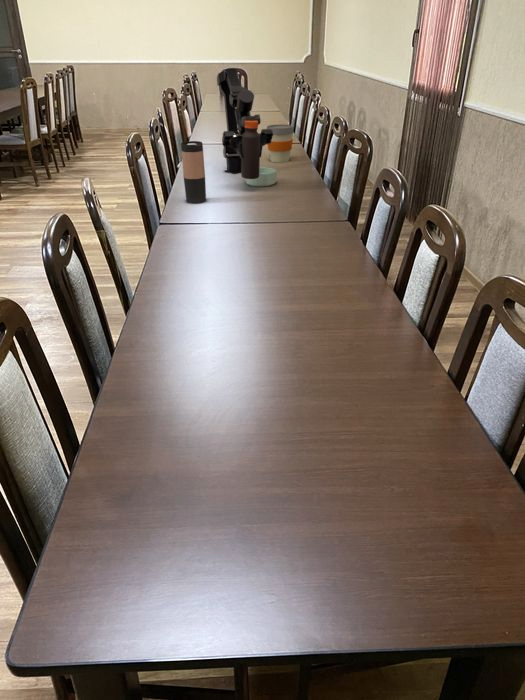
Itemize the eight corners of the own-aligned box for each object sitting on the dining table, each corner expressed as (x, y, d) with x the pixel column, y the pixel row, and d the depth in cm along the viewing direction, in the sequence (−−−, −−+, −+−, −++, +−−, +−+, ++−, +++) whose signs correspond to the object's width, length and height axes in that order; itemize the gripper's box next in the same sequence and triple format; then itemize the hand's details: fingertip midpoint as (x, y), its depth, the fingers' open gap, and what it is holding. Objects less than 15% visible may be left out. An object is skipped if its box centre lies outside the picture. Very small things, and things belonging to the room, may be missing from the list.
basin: (239, 184, 216) (239, 171, 214) (259, 178, 224) (259, 166, 221) (262, 188, 209) (262, 175, 207) (282, 182, 217) (282, 169, 214)
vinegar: (237, 176, 205) (238, 120, 195) (252, 173, 209) (253, 118, 198) (248, 180, 201) (249, 123, 190) (262, 177, 204) (264, 121, 194)
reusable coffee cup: (267, 157, 260) (267, 124, 253) (293, 157, 259) (294, 124, 252) (265, 163, 250) (264, 128, 242) (292, 163, 248) (292, 128, 241)
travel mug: (186, 198, 199) (181, 141, 188) (206, 197, 199) (202, 140, 189) (185, 204, 192) (179, 145, 182) (206, 203, 193) (202, 144, 182)
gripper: (221, 107, 194) (228, 145, 190) (271, 105, 197) (279, 142, 194) (219, 127, 204) (225, 163, 201) (266, 125, 208) (274, 160, 205)
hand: (251, 157), depth 200 cm, fingers closed on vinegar, 7 cm apart
